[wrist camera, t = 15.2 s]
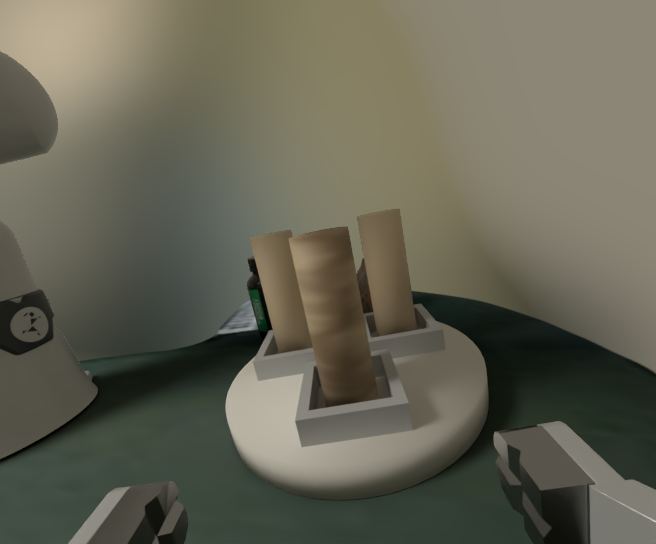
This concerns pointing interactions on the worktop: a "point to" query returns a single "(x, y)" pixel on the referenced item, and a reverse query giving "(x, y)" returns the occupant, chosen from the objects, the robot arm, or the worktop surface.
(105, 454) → the worktop surface
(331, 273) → the stool leg
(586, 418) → the worktop surface
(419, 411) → the stool seat
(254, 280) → the supplement bottle
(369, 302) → the vase
